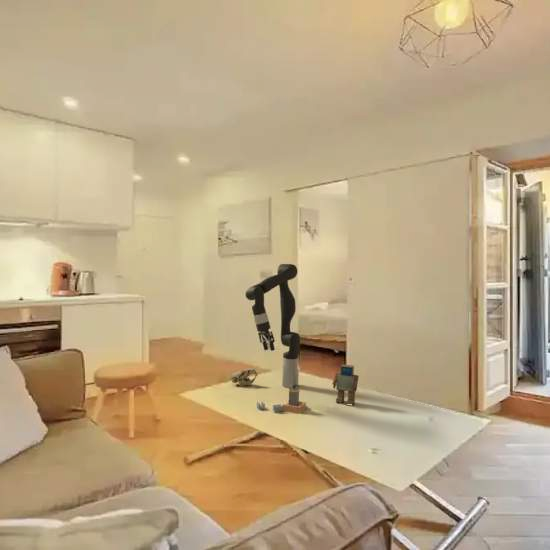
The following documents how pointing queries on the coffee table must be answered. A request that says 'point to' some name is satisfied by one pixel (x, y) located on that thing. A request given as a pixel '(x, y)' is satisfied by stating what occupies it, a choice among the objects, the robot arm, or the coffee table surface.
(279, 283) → the robot arm
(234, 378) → the skull
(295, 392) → the plug
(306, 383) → the coffee table surface
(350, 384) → the toy
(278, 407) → the clip
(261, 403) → the clip
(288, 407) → the holder
